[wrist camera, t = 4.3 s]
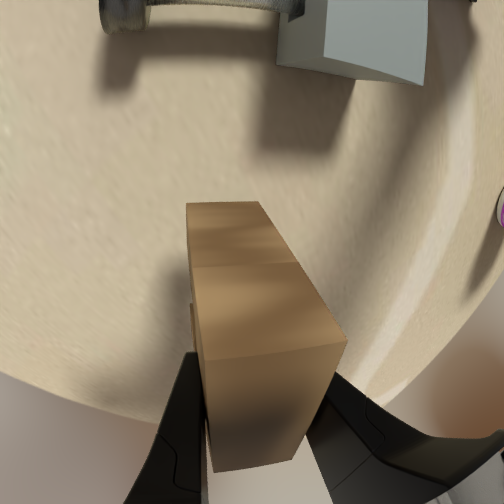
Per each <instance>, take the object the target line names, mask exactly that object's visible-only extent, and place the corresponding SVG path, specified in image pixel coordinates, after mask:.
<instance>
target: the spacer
mask: <svg viewBox="0 0 504 504" xmlns="http://www.w3.org/2000/svg"><path fill="white" fill-rule="evenodd" d="M186 226H187V249H188V260H189V271H190V281H191V291H192V300H193V303H190V315H191V329H192V338H193V347H194V351H197V353H198V359H199V366H200V372H201V379H202V385H203V396H204V407H205V418H206V435H207V441H208V446H209V452H210V457H211V462H212V467H213V472H214V473H217V472H226V471H233V470H240V469H246V468H253V467H258V466H264V465H269V464H274V463H279V462H283V461H288V460H292V458H293V456H294V455H295V453H296V451H297V449H298V447H299V445H300V443H301V441H302V440H303V438H304V436H305V434H306V432H307V430H308V428H309V426H310V424H311V422H312V420H313V418H314V416H315V414H316V412H317V410H318V408H319V406H320V404H321V401H322V399H323V397H324V395H325V393H326V391H327V388H328V386H329V384H330V382H331V380H332V377H333V375H334V373H335V370H336V368H337V366H338V363H339V361H340V359H341V356H342V354H343V351H344V349H345V346H346V344H347V341H348V340H347V338H346V336H345V335H344V333H343V332H342V330H341V328H340V327H339V325H338V324H337V322H336V320H335V319H334V317H333V316H332V314H331V312H330V311H329V309H328V308H327V306H326V304H325V303H324V301H323V300H322V298H321V297H320V295H319V293H318V292H317V290H316V289H315V287H314V286H313V284H312V282H311V281H310V279H309V278H308V276H307V275H306V273H305V272H304V270H303V268H302V267H301V265H300V264H299V262H298V261H297V259H296V258H295V256H294V255H293V253H292V252H291V250H290V249H289V247H288V245H287V244H286V242H285V241H284V239H283V238H282V236H281V235H280V233H279V232H278V230H277V229H276V227H275V226H274V224H273V223H272V221H271V220H270V218H269V217H268V215H267V214H266V212H265V211H264V209H263V208H262V207H261V205H260V204H259V202H258V201H255V202H203V203H186Z"/></svg>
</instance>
